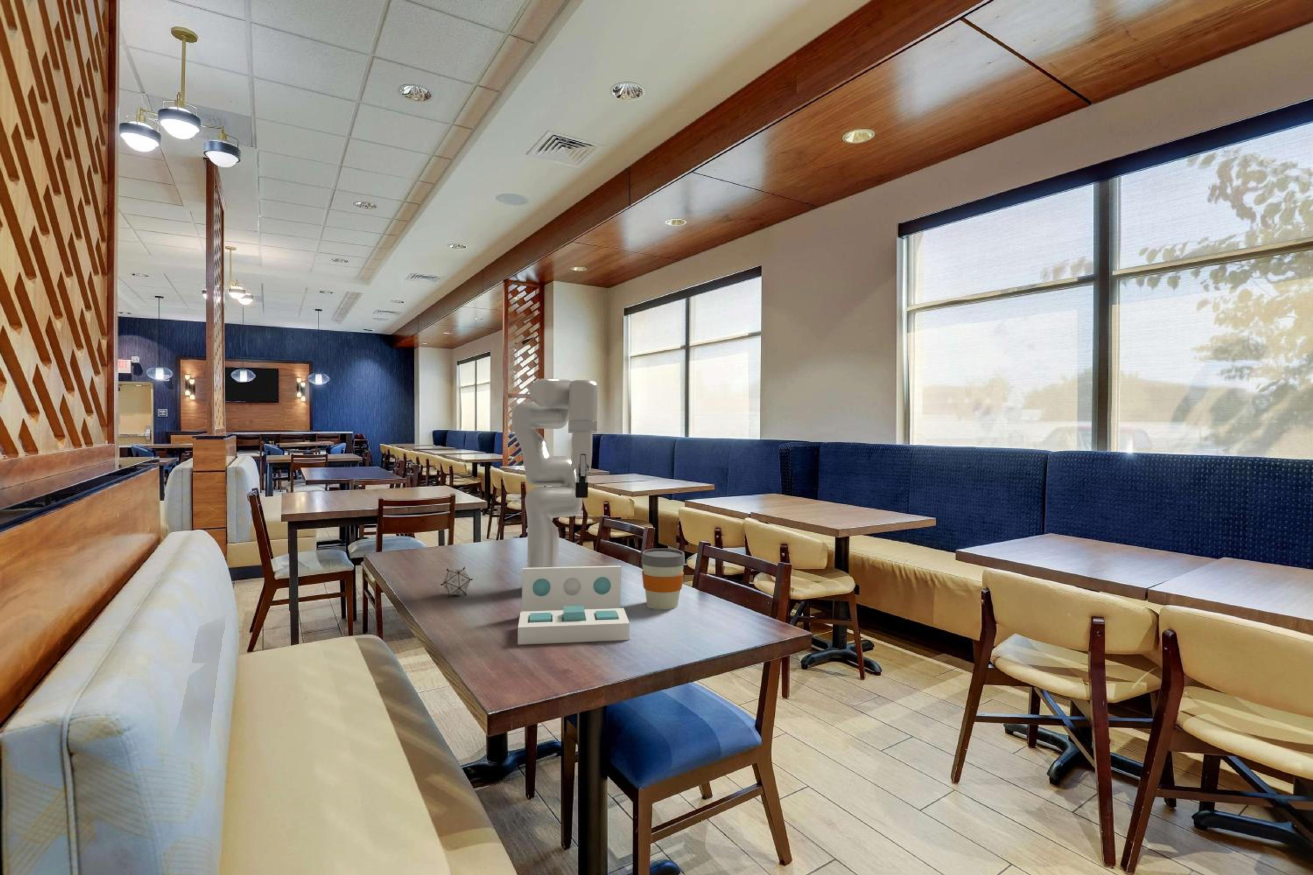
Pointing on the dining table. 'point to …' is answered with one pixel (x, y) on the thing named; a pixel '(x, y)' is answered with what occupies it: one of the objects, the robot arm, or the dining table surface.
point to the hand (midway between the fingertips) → (581, 497)
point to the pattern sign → (571, 587)
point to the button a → (540, 617)
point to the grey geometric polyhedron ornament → (456, 582)
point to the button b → (573, 613)
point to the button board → (572, 628)
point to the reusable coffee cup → (662, 577)
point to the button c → (606, 615)
